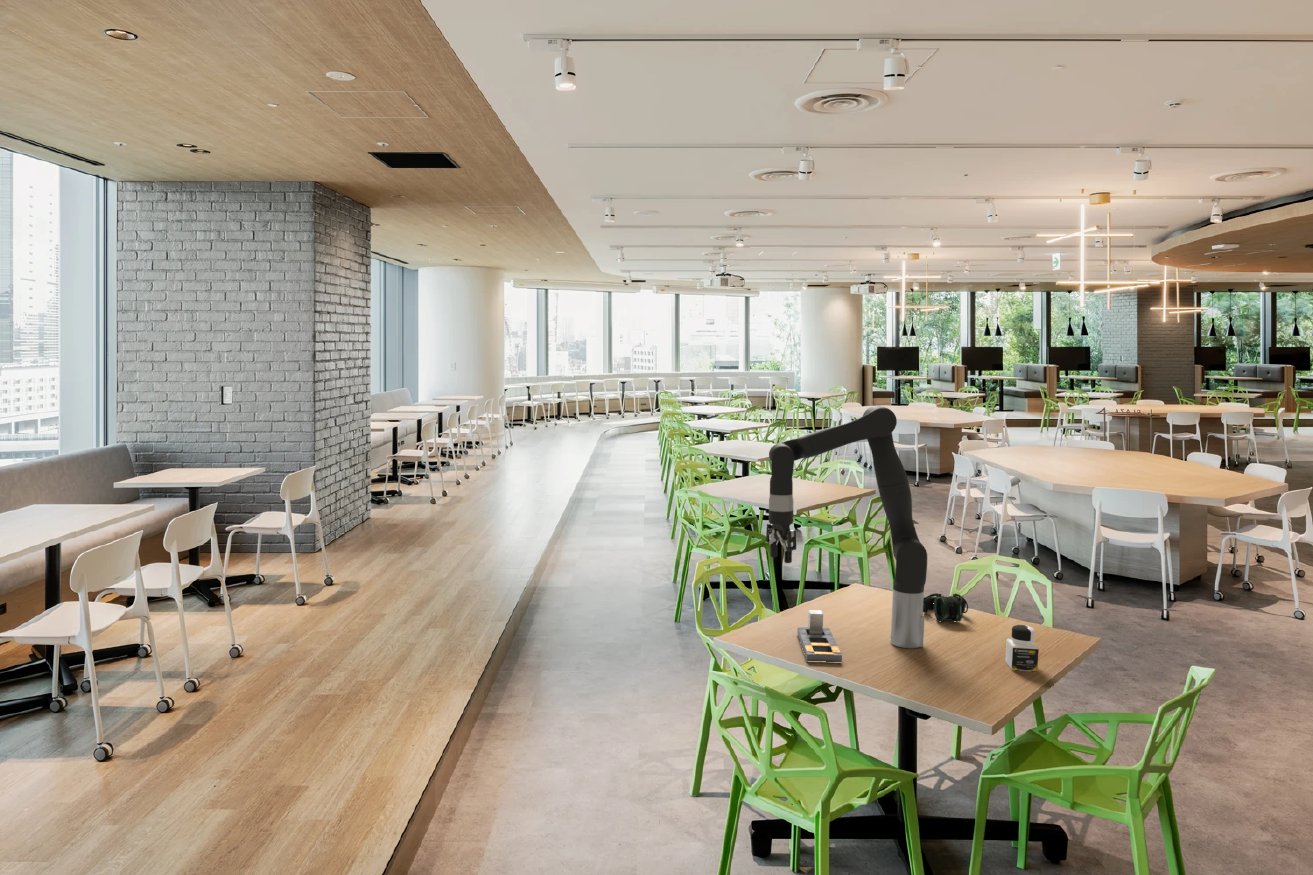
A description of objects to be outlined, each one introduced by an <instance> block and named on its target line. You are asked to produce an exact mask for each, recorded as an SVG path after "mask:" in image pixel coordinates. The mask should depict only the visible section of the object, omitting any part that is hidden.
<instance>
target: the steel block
mask: <svg viewBox="0 0 1313 875" xmlns="http://www.w3.org/2000/svg"><path fill="white" fill-rule="evenodd" d="M807 620H808V621H807V627H808V635H823V628H824V613H823V611H822V610H819V609H818V610H817V609H808V619H807Z"/></svg>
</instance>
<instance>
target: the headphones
mask: <svg viewBox="0 0 1313 875" xmlns="http://www.w3.org/2000/svg"><path fill="white" fill-rule="evenodd" d="M933 603H934V604H933ZM933 609H934V610H933ZM968 610H969V604H968V601H967V600H966V599H965V598H964V597H963V596H962V595H960V594H958V593H952V595H950V596H944V595H942V593H936V592H935V593H931V594H929V595H927V596H924V599H923V613H925V614H926V615H927V616H928V617H929V618H930V619H932V618H933V617H932V616H931V615H930V614H929V613H928V611H934V613H933V614H934V617H935V619H937V620H938V622H939V621H942V623H943V622H945V621H952V622H953V621H956V622H961V621H962V618H963V616H964V614H966V613H967V612H968ZM937 620H936V621H937Z"/></svg>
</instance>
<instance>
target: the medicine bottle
mask: <svg viewBox="0 0 1313 875" xmlns="http://www.w3.org/2000/svg"><path fill="white" fill-rule="evenodd" d="M1035 632H1036V631H1035V629H1034V628H1033V627H1031V626H1029V625H1024V624H1016V625H1013V626H1012V627H1011V636H1010V638H1007V639H1006V645H1005V647H1006V648H1005V663H1006V665H1007V666H1008V667H1009V669H1010V670H1011V671H1015V670H1019V672H1031V671H1037V672H1038V668H1039V666H1038V664H1039V663H1038V662H1039V651H1040V650H1039V647H1038V645H1036V643H1035V634H1036V633H1035Z"/></svg>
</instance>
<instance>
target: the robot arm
mask: <svg viewBox="0 0 1313 875" xmlns="http://www.w3.org/2000/svg"><path fill="white" fill-rule="evenodd" d="M897 423H898V422H897V416H896V414H895V412H893V411H892V410H891V409H890V408H888V407H885V406H880V405H873V406H870V407H868V408H867V409H866V410H865V411H864V412H863V414H862V416H861V417H859V418H857V419H855V420H852V421H849V422H846V423H843V424H839V425H834V426H831V427H828V428H823V429H819V430H815V431H813V432H810V433H807V434H805V435H801V436H800V437H797V438H792V439H789V440H784V441H781V442H778V443H775V444H774V445H773V446H772V447H771V448H770V449H769V451H768V458H769V460H770V462H771V463H770V465H771V476H770V479H769V497H768V523H766V531H765V532H766V533H765V534H766V535H765V537H766V538H765V541H766V543H768V545H769V547H770V548H769V549H770V550H769V551H770V552H769V556H770V557H771V558H773V559H774V558H777V557H778V547H779V546H778V543H779V542H780V544H781V546H782V547H783V550H784V552H783V556H784V557H783V558H784V560H783V562H784V563H785V564H791V563H792V561H793V558H792V557H793V556H792V555H793V551H797V531H796V529H794V530H793V529H791V525H793V523H794V497H793V496H794V490H793V489H794V488H793V485H794V483H793V475H794V469H795V468H794V465H795V461H798V460H801V459H808V458H809V459H810V458H813V457H816V456H819V455H821V454H824V453H827V452H830V451H832V450H835V449H839V448H841V447H844V446H846V445H850V444H853V443H856V442H859V441H863V440H867V442H868V445H869V448H870V452H871V455H872V456H871V457H872V463H873V468H874V474H875V475H874V476H875V479H876V484H877V488H878V493H879V496H880V499H881V500H880V501H881V504H882V507H883V512H884V513H885V516H886V519H887V521H888V525H889V529H890V537H891V546H892V553H893V554H892V555H893V557H894V559H895V574H894V579H893V582H892V603H891V605H892V606H891V623H890V624H891V626H890V643H891V644H892V645H893V646H896V647H898V648H904V649H918V648H924V641H925V640H924V639H925V637H924V636H925V620H926V619H925V618H926V617H925V616H924V614H923V613H924V612H923V599H924V597H925V596H924V595H925V593H924V592H925V585H926V583H927V582H926V581H927V571H928V553H927V549H926V547H925V546H924V544H922V543H921V542H920V539H919V537H918V534H917V533H918V532H917V530H916V528H915V524H914V520H913V503H912V502H913V500H912V492H911V487H910V482H909V478H908V476H907V473H906V469H905V467H904V465H903V463H902V461H901V459H900V457H899V454H898V453H897V450H896V447H895V442H894V437H893V432H894V430H895V429H896V427H897Z"/></svg>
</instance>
